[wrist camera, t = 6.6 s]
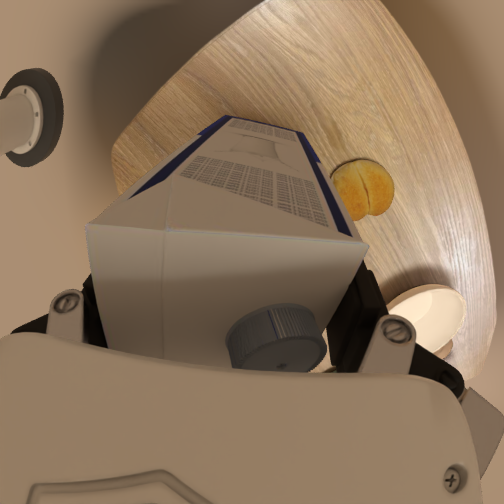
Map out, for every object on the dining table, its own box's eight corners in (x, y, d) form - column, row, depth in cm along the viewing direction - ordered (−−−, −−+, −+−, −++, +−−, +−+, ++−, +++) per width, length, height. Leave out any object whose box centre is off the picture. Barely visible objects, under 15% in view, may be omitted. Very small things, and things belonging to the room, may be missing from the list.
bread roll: (392, 206, 37) (402, 219, 34) (334, 219, 39) (340, 233, 36) (386, 152, 33) (397, 160, 30) (323, 165, 35) (328, 174, 32)
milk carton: (225, 112, 22) (78, 224, 5) (304, 130, 22) (394, 294, 5) (211, 187, 26) (117, 388, 9) (282, 204, 26) (290, 424, 9)
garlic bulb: (436, 325, 50) (448, 353, 43) (451, 330, 51) (463, 357, 44) (416, 344, 54) (426, 372, 47) (432, 348, 54) (442, 375, 48)
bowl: (466, 289, 44) (480, 312, 39) (402, 347, 54) (409, 372, 49) (414, 244, 40) (431, 269, 34) (340, 320, 50) (345, 348, 44)
